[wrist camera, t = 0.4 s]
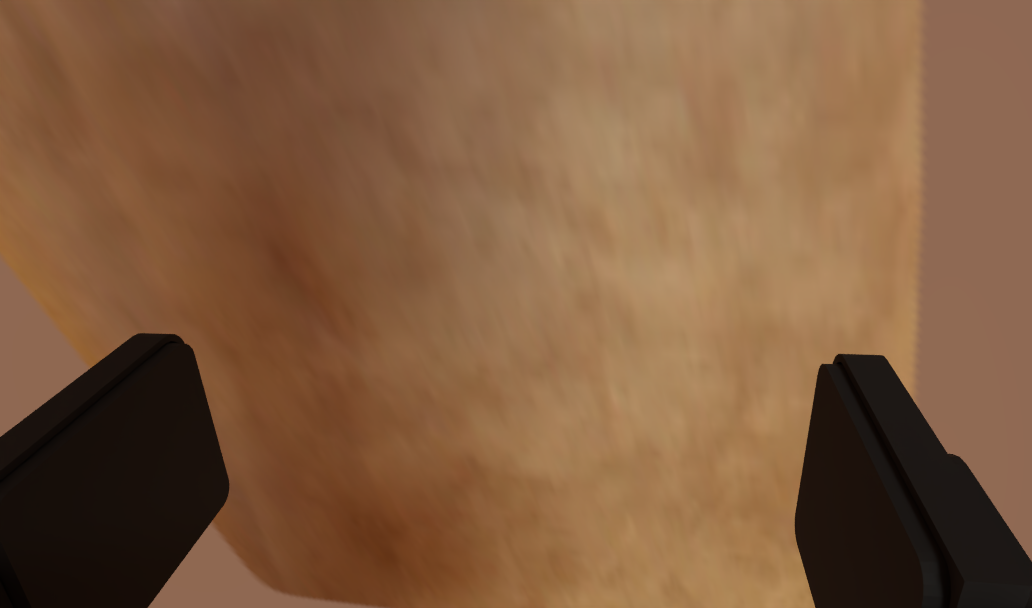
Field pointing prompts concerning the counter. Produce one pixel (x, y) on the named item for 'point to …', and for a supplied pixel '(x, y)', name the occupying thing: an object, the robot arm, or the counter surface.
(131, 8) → the counter surface
